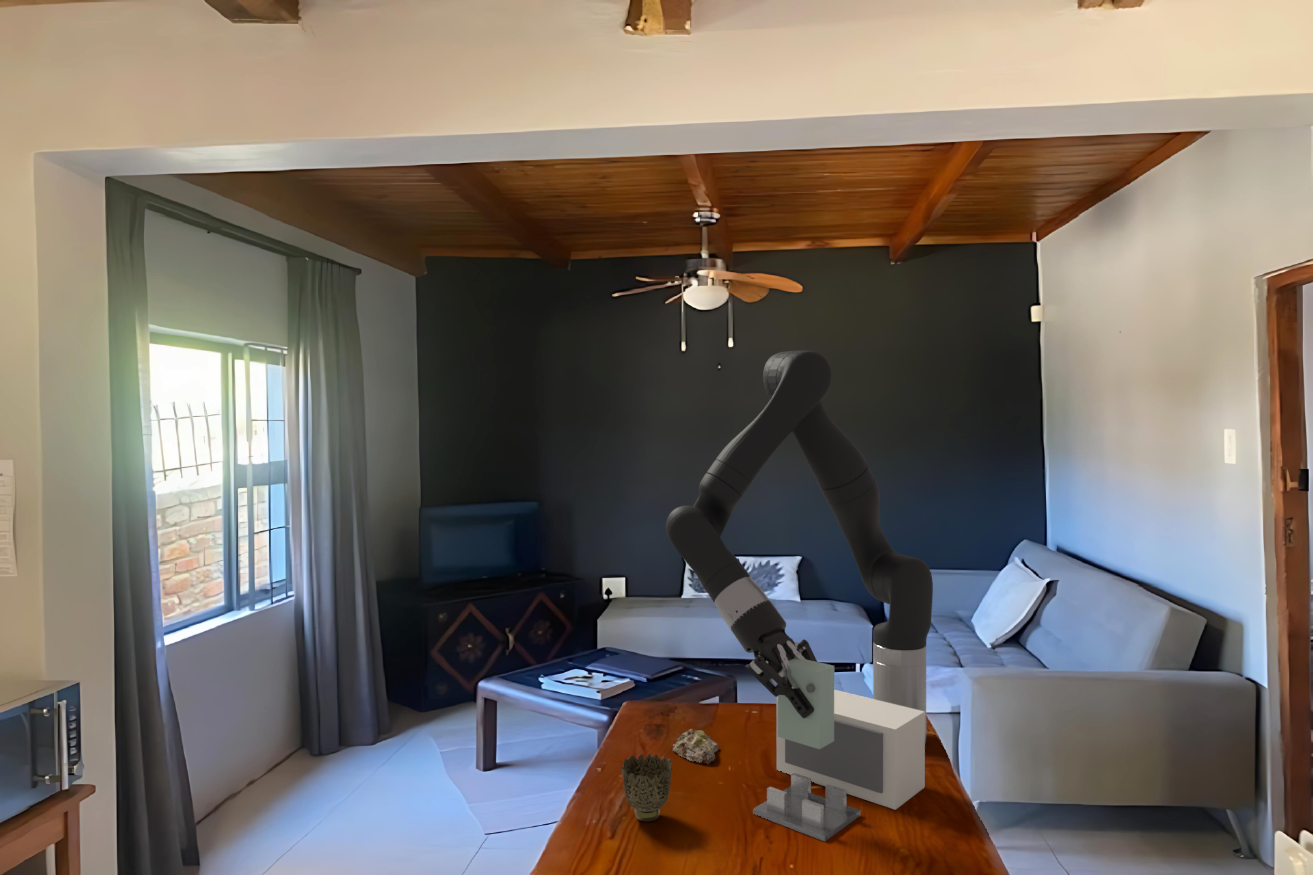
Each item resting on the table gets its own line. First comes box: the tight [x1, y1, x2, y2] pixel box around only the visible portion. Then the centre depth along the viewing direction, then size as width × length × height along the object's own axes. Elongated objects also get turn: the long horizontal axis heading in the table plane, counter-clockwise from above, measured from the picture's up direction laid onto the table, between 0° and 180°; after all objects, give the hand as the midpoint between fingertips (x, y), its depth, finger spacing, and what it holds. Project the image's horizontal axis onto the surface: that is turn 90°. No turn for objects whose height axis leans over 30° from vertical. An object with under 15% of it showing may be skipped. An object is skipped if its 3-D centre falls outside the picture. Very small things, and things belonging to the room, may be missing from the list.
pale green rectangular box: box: [777, 659, 835, 749], centre depth 122 cm, size 5×7×11 cm
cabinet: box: [775, 689, 926, 810], centre depth 134 cm, size 10×21×12 cm, turn 48°
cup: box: [620, 753, 673, 822], centre depth 122 cm, size 8×7×8 cm
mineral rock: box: [671, 728, 720, 765], centre depth 145 cm, size 11×4×8 cm
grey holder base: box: [752, 773, 861, 842], centre depth 122 cm, size 10×12×4 cm
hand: (817, 710), depth 121 cm, fingers closed on pale green rectangular box, 4 cm apart
